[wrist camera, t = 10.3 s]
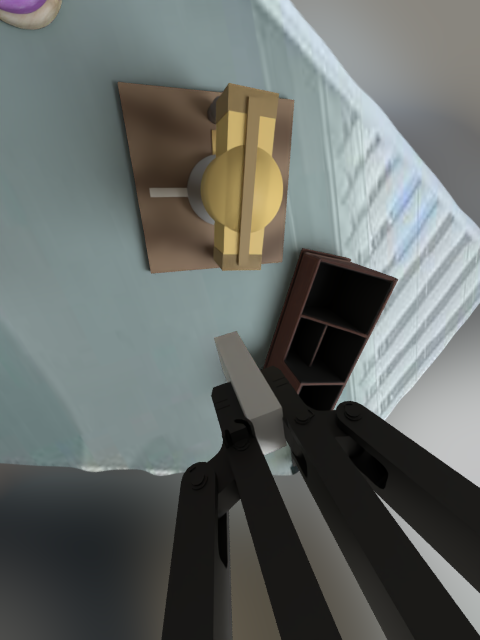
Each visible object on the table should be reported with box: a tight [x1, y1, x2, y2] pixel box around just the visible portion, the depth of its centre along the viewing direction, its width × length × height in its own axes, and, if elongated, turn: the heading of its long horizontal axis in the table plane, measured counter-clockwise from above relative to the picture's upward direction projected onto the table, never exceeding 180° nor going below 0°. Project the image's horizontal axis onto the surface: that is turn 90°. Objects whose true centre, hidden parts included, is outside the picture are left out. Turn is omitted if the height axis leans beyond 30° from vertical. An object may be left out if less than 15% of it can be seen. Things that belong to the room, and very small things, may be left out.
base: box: [118, 82, 294, 273], centre depth 30 cm, size 20×20×8 cm
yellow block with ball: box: [200, 83, 283, 271], centre depth 24 cm, size 14×7×5 cm, turn 176°
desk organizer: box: [263, 248, 398, 411], centre depth 44 cm, size 10×29×11 cm, turn 166°
